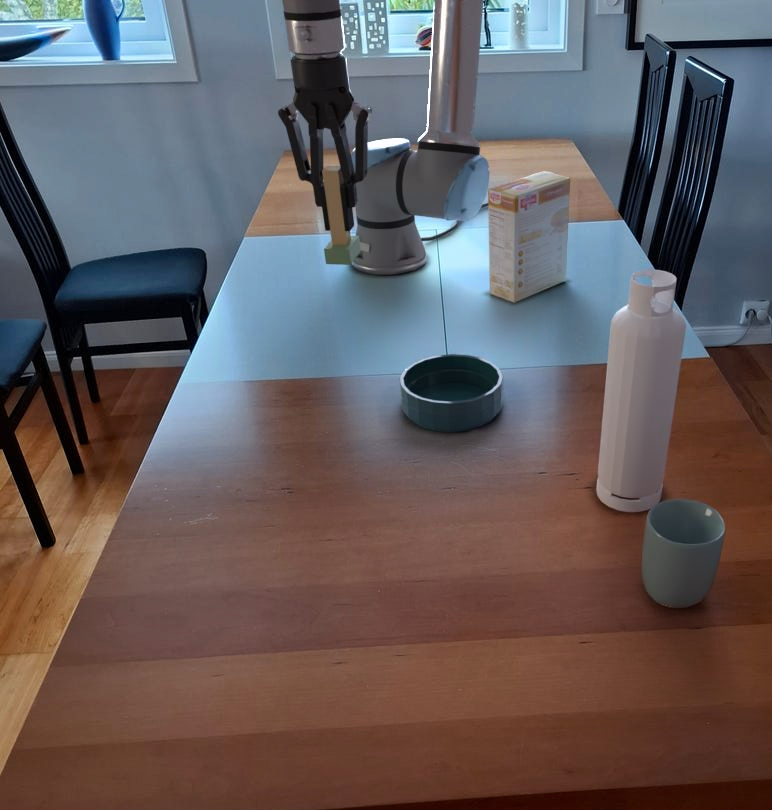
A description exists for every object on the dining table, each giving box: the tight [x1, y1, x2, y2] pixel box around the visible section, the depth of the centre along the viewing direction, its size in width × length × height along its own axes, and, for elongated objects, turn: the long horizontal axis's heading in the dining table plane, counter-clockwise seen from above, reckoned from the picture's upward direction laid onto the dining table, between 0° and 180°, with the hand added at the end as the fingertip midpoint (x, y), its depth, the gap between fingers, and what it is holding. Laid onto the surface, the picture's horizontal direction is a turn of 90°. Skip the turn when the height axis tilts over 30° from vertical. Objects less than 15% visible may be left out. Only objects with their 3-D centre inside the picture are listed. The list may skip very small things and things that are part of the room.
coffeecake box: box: [487, 170, 571, 304], centre depth 150 cm, size 15×7×20 cm, turn 134°
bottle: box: [595, 269, 687, 513], centre depth 93 cm, size 8×8×28 cm
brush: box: [322, 165, 361, 266], centre depth 123 cm, size 6×4×13 cm, turn 172°
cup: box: [640, 498, 726, 609], centre depth 84 cm, size 8×8×10 cm
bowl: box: [399, 353, 504, 433], centre depth 118 cm, size 15×15×5 cm
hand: (339, 227), depth 124 cm, fingers closed on brush, 2 cm apart
